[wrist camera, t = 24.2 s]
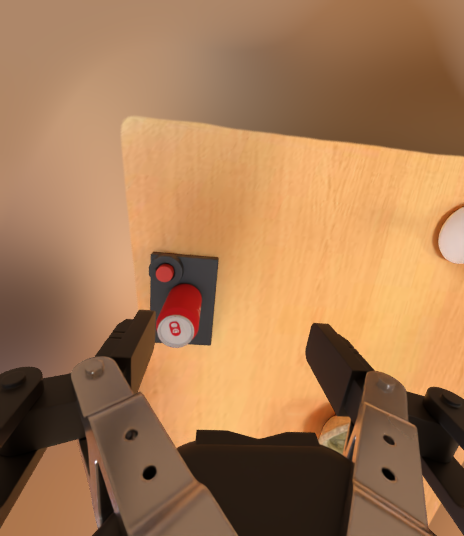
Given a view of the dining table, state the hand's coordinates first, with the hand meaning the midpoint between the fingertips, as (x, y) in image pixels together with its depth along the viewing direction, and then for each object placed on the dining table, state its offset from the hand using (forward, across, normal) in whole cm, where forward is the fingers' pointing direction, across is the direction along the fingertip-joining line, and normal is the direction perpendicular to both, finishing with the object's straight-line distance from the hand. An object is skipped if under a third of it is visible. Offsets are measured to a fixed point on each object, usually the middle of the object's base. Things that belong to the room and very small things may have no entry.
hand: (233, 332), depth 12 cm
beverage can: (+32, +5, +13) cm, 35 cm away
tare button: (+30, +9, +8) cm, 33 cm away
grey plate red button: (+33, +6, +14) cm, 37 cm away
